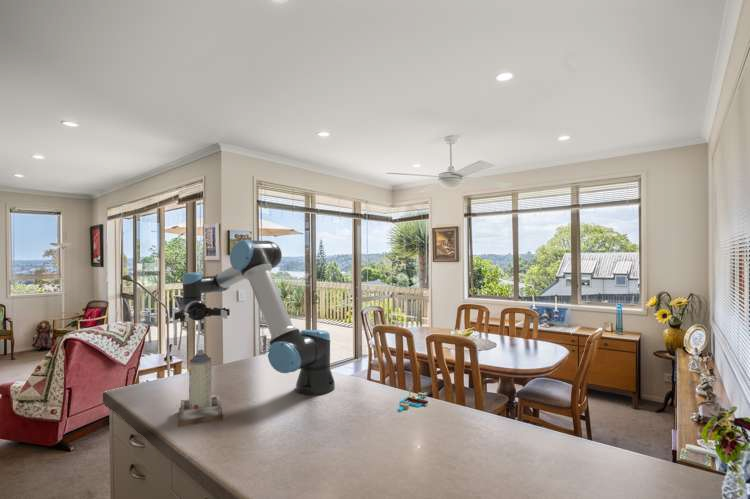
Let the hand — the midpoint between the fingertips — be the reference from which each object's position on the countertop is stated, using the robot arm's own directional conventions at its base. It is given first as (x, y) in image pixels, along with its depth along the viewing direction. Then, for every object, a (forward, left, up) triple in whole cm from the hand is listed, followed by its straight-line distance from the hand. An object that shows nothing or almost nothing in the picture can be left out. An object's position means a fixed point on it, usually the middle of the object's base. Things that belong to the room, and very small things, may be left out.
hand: (207, 316), depth 152 cm
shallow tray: (+3, +19, -30) cm, 35 cm away
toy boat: (-68, +39, -31) cm, 84 cm away
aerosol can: (+3, +19, -29) cm, 34 cm away
